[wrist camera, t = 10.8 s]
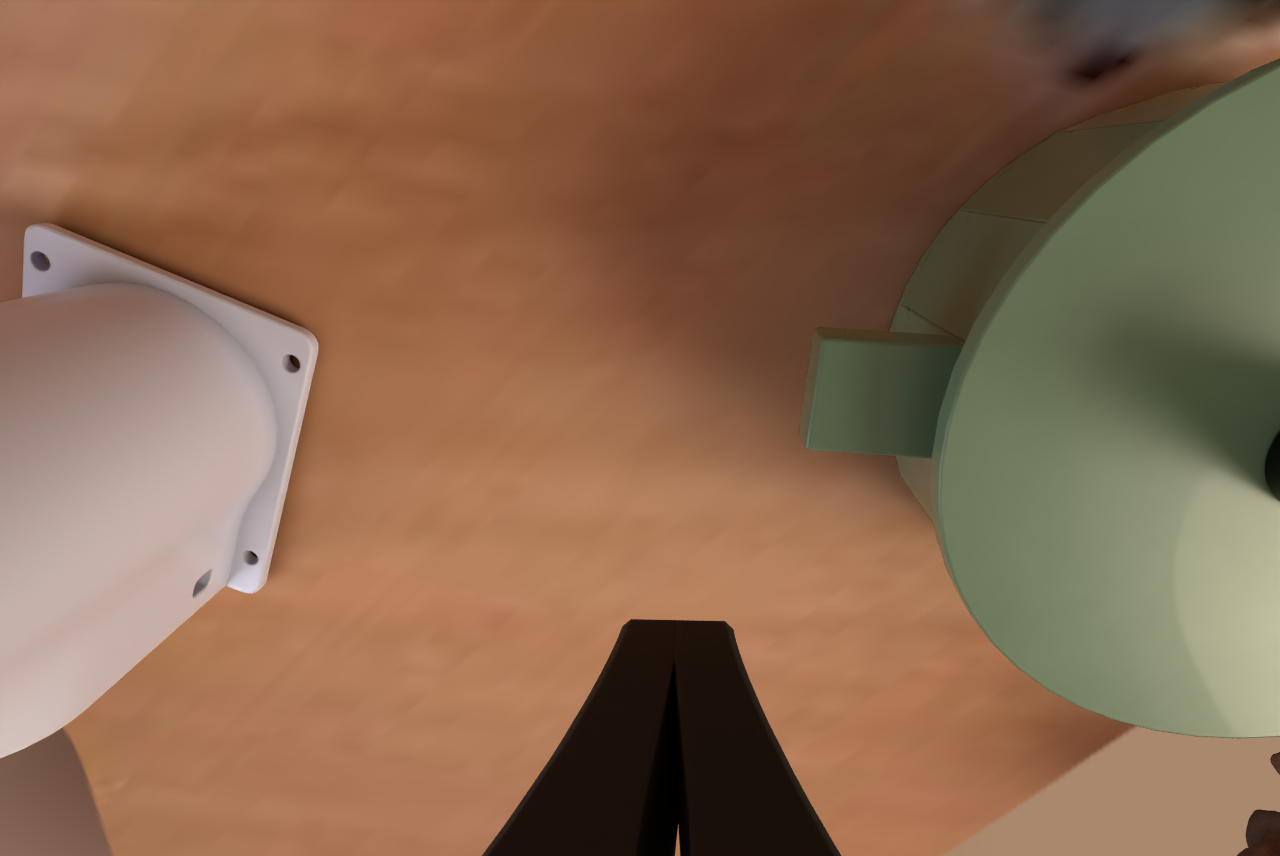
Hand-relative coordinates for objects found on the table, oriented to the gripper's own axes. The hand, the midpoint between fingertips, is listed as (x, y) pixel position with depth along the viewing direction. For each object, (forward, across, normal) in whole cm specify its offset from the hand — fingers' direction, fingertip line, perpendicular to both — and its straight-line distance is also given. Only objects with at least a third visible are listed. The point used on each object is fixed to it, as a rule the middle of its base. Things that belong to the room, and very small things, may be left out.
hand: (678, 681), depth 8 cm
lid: (+5, -11, -1) cm, 13 cm away
